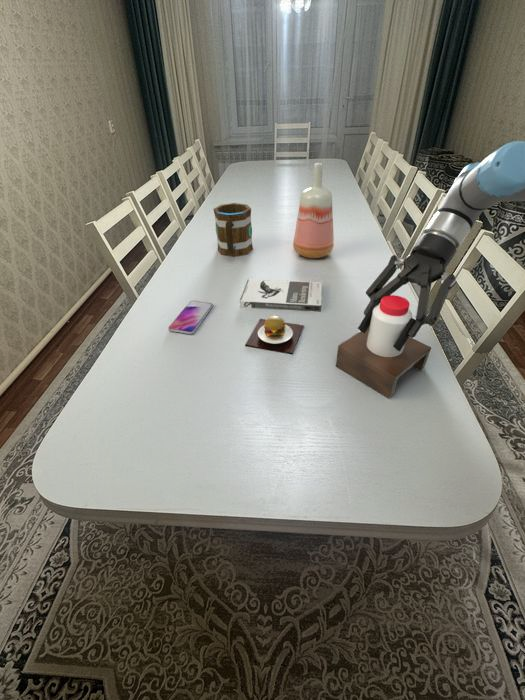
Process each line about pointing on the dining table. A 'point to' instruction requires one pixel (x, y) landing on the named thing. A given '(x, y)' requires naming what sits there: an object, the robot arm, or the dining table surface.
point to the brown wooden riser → (379, 362)
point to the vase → (315, 220)
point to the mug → (233, 229)
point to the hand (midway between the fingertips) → (378, 339)
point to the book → (282, 295)
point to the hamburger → (275, 335)
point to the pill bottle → (388, 325)
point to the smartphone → (190, 317)
